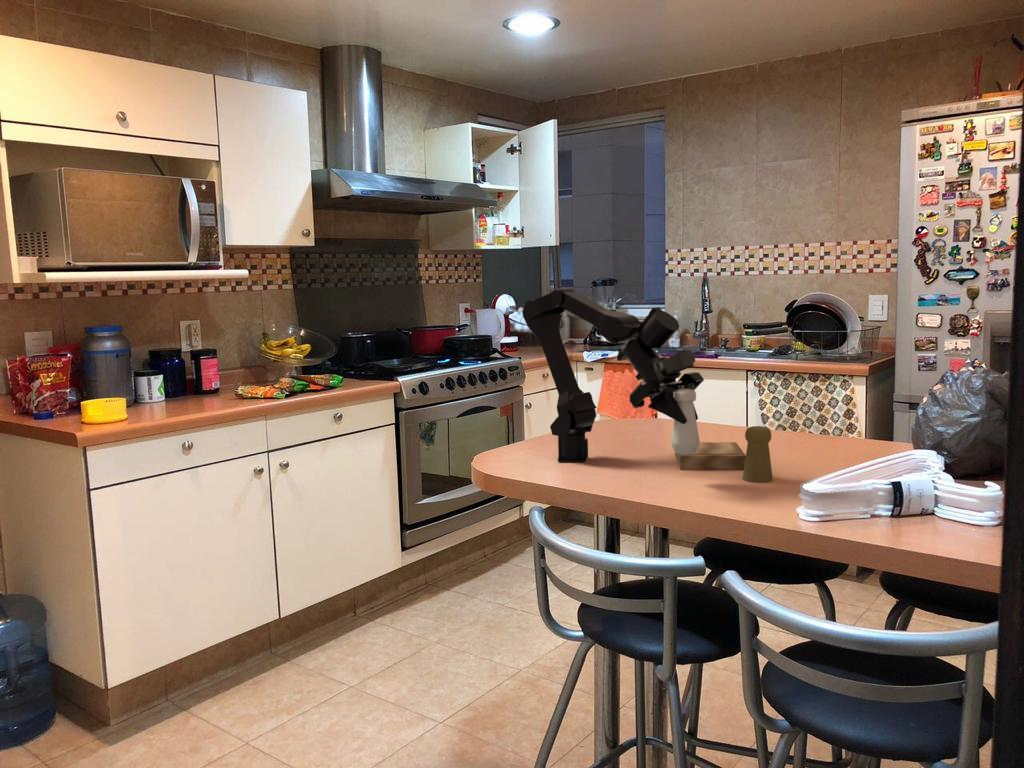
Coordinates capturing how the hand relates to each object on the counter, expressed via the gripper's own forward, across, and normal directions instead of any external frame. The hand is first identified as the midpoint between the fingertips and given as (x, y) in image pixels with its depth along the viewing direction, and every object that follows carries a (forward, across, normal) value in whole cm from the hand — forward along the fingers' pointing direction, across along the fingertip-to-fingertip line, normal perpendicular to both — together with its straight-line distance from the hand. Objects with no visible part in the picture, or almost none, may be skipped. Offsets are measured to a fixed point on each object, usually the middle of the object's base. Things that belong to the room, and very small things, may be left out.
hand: (690, 421), depth 164 cm
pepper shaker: (+15, +12, +4) cm, 20 cm away
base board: (+4, +18, +15) cm, 24 cm away
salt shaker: (+4, 0, +6) cm, 7 cm away
